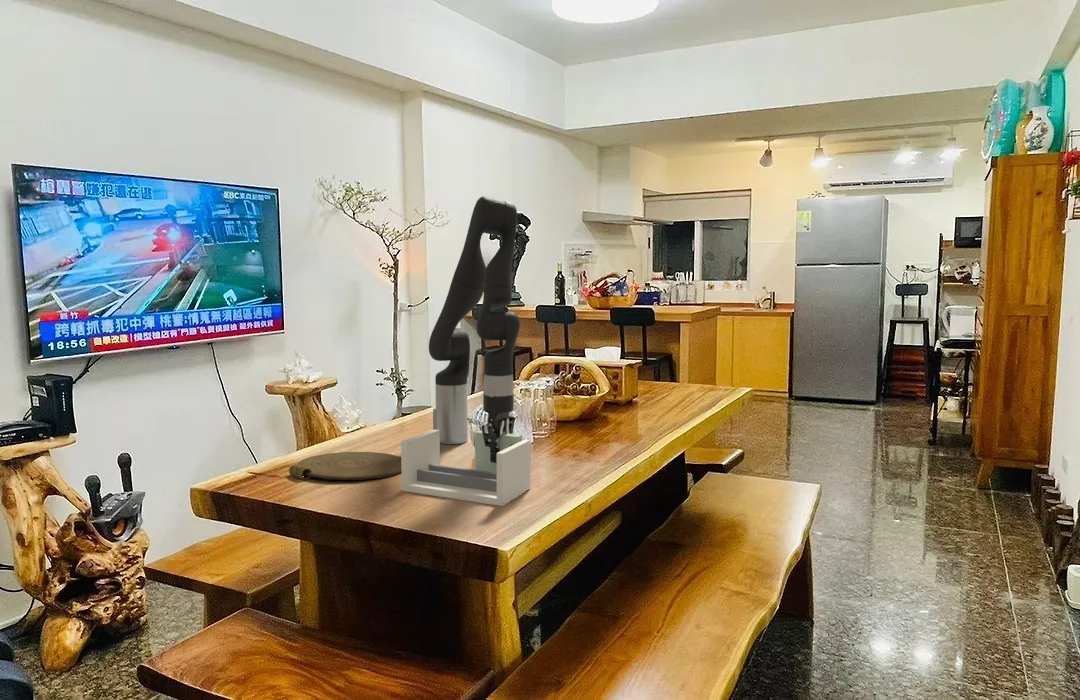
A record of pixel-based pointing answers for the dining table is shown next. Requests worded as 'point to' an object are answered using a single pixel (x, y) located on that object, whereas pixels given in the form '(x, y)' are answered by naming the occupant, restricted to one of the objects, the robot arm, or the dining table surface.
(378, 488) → the dining table surface
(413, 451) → the grey u-shaped open holder
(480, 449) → the door panel
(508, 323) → the robot arm
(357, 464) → the decorative disc
